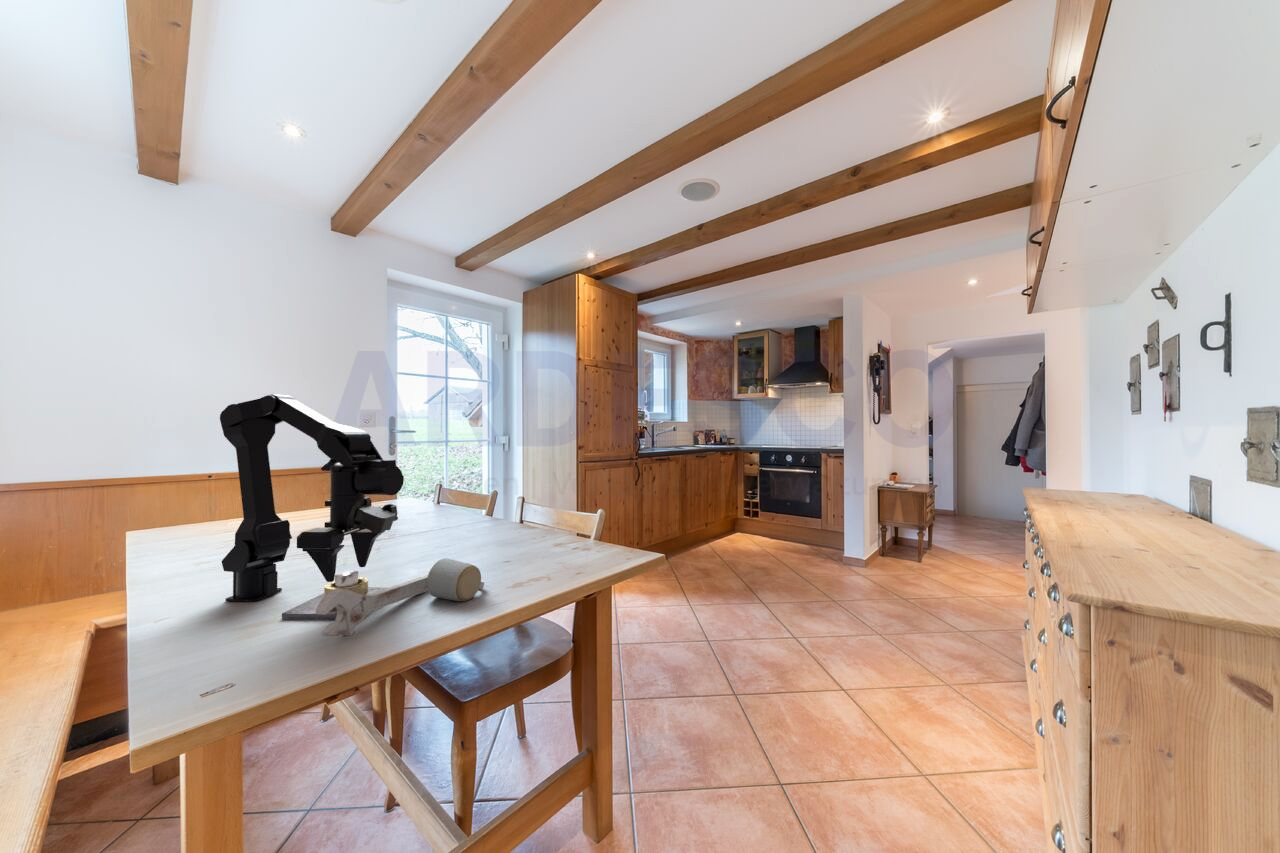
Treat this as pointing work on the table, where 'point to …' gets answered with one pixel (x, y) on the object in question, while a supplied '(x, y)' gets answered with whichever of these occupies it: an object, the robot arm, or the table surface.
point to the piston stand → (309, 607)
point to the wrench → (363, 604)
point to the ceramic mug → (454, 580)
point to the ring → (359, 588)
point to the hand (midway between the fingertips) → (347, 573)
